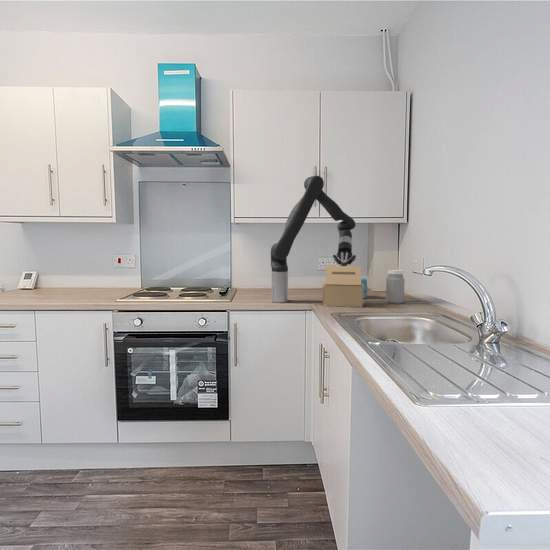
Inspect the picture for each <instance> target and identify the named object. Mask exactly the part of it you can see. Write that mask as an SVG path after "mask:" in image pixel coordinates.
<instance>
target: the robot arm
mask: <svg viewBox="0 0 550 550" xmlns="http://www.w3.org/2000/svg"><path fill="white" fill-rule="evenodd" d="M324 185H325V182H324V179H323V177H322V176H320V175H312V176H309V177H307V178H305V179H304V182H303V186H304V190H305V191H304V193H303V195H302V196H301V198H300V199H299V200H298V202H297V203H296V204H295V205H294V206H293V208H292V210H291V211H290V213H289V215H288V217H287V219H286V223H285V226H284V230H283V233H282V235H281V236H280V238H279V240H278V241H277V242H276V243H273V244H272V246H271V247H270V268H271V302H272V303H287V302H288V301H289V267H288V262H287V257H288V256H289V254H290V253H291V249H292V246H293V244H294V241H295V240H296V237H297V236H298V234H299V233H300V231H301V229H302V227H303V226H304V223H305V221H306V220H307V217H308V216H309V213H310V212H311V210H312V208H313V206H314V203H315V201H317V202H318V203H319V204H320V205H321V207H323V208H324V209H325V211H326V212H327V213H328V214H329V215H330V217H331V219H333V221H335V222H338V221H340V222H339V223H338V224H337V232H338V235H339V240H338V248H337V253H336V254H333V255H332V259H333V260H334V262H336V263H337V264H338V265H340V266H348V265H350V266H351V264H352V263H353V262H354V261H355V260H356V259H357V255H356V254H353V251H352V250H353V242H352V241H353V232H351V230H353V229H355V228H356V221H355V219H354V218H353V217H351V216H350V215H348V214H347V213H345V212H344V211H343V209H342V208H341V207H340V205H338V203H336V201H334V200H333V199H332V198H331V197H329V196H328V194H326V193H325V191H324V190H323V189H324Z"/></svg>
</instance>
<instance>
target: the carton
mask: <svg viewBox="0 0 550 550" xmlns="http://www.w3.org/2000/svg"><path fill="white" fill-rule="evenodd" d="M362 295H363V298H362ZM364 299H365V298H364V284H363V283H361V285H333V284H325V282H324V283H323V285H322V304H323V306H324V305H328V306H327V307H339V306H345V308H363V306H364V301H365V300H364Z"/></svg>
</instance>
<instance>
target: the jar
mask: <svg viewBox="0 0 550 550" xmlns="http://www.w3.org/2000/svg"><path fill="white" fill-rule="evenodd" d="M404 271H405V270H403V269H388V270H387V277H386V278H385V279H386V282H385V285H386V286H385V302H387V303H388V302H390V303H389V304H397V303H398V304H403V303H404V301H405V283H406V282H405V281H406V280H405V278H404V273H405V272H404ZM402 302H403V303H402Z"/></svg>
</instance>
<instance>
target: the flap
mask: <svg viewBox="0 0 550 550" xmlns="http://www.w3.org/2000/svg"><path fill="white" fill-rule="evenodd" d="M362 267H363V266H361V265H359V266H357V265H355V266H353V265H352V266H351V265H350V266H348V265H347V266H341V265H325V279H324V281H325V282H324V283H325V284H333V285H361V278H362V271H363V270H362Z"/></svg>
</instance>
